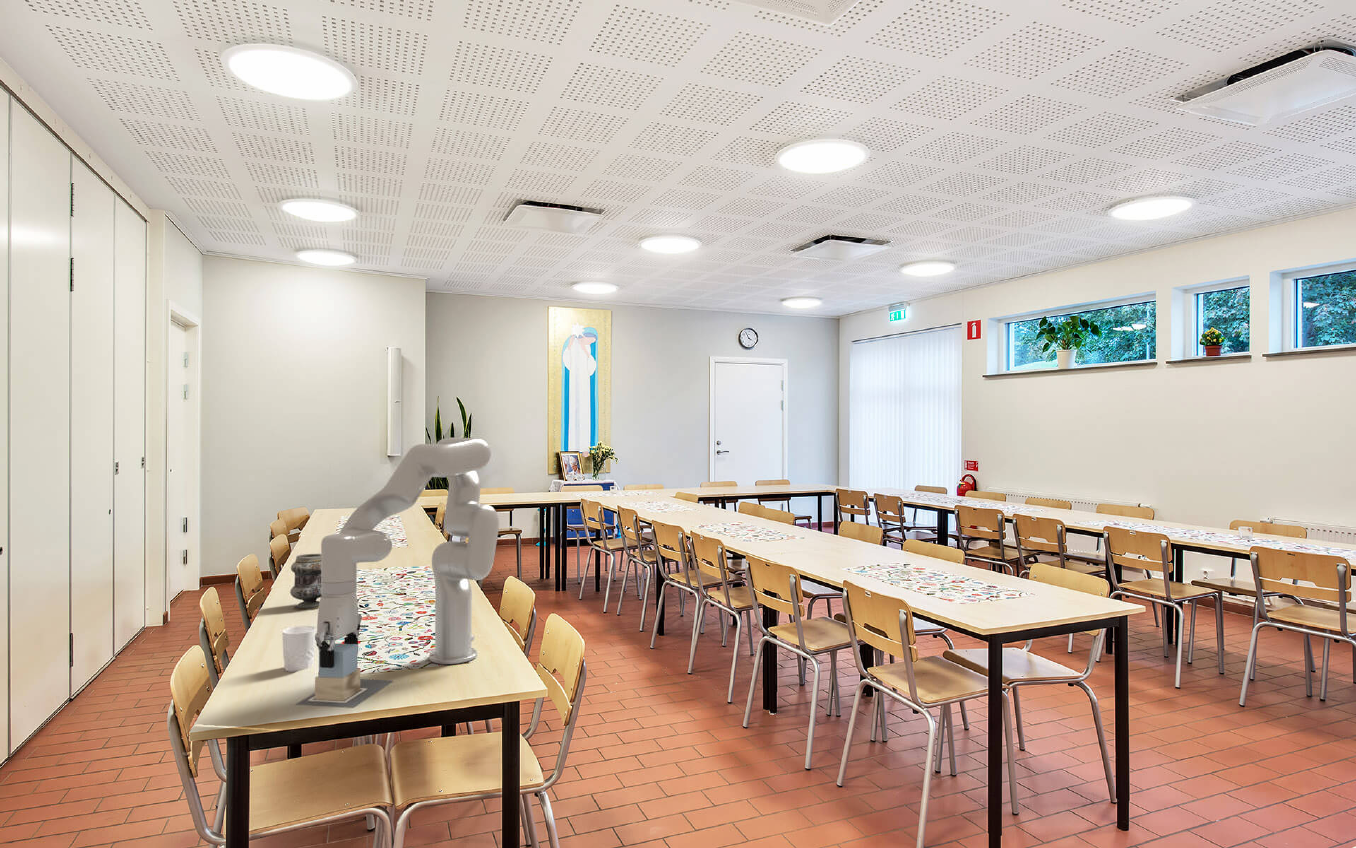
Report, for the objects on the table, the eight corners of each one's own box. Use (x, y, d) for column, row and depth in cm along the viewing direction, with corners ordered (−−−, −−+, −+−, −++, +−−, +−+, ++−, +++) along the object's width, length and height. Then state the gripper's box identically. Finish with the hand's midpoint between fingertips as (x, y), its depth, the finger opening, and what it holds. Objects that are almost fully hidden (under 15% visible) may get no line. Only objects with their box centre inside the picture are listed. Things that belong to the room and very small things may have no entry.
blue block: (333, 668, 180) (334, 643, 180) (357, 669, 179) (357, 644, 179) (318, 676, 174) (318, 650, 174) (343, 678, 173) (343, 651, 173)
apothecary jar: (323, 601, 272) (323, 551, 272) (332, 607, 262) (333, 555, 263) (286, 606, 264) (286, 554, 264) (294, 612, 255) (295, 559, 255)
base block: (332, 688, 180) (332, 668, 180) (360, 690, 179) (360, 669, 179) (315, 699, 173) (315, 677, 173) (343, 701, 172) (343, 679, 172)
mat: (340, 679, 188) (340, 677, 188) (393, 682, 186) (394, 680, 186) (295, 706, 170) (295, 704, 170) (353, 709, 168) (353, 707, 168)
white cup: (307, 661, 202) (307, 624, 202) (321, 667, 197) (321, 629, 197) (276, 668, 196) (276, 630, 196) (290, 675, 191) (290, 635, 191)
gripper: (345, 579, 185) (345, 648, 186) (301, 595, 168) (301, 672, 168) (373, 580, 184) (374, 650, 185) (332, 596, 167) (332, 673, 167)
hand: (339, 660), depth 176 cm, fingers open, 9 cm apart
